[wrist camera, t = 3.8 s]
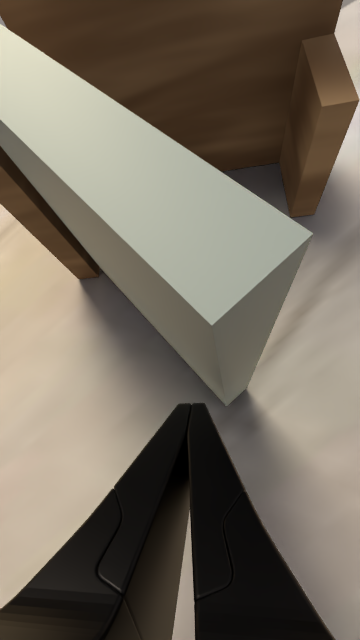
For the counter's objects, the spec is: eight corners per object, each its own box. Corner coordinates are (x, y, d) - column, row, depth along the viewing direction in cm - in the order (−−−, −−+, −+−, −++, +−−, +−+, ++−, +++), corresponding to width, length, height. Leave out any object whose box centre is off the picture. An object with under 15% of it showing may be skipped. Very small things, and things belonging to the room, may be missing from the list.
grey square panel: (226, 406, 15) (211, 325, 3) (97, 264, 20) (-115, 7, 8) (246, 387, 15) (313, 233, 3) (113, 251, 20) (-68, -22, 8)
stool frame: (323, 253, 17) (532, -137, 5) (78, 279, 20) (-157, 50, 8) (297, 144, 21) (389, -244, 9) (91, 177, 23) (-59, -90, 11)
